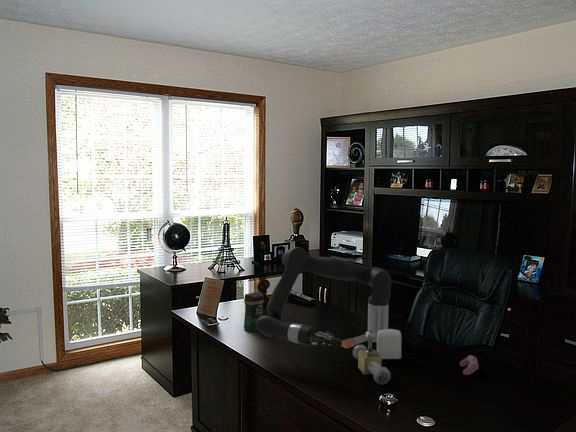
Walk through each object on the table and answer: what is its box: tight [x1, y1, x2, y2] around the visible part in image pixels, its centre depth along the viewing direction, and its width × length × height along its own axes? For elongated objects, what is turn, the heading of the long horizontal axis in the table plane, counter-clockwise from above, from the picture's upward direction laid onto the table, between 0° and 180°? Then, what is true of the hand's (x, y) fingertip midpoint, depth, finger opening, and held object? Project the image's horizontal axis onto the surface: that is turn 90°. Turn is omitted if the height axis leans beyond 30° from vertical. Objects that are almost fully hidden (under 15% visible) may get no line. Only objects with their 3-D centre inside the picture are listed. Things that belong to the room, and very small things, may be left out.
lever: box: [340, 330, 375, 349], centre depth 185 cm, size 17×4×2 cm, turn 130°
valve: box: [352, 340, 392, 386], centre depth 189 cm, size 24×7×13 cm, turn 12°
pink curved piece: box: [459, 354, 480, 376], centre depth 190 cm, size 10×5×7 cm, turn 169°
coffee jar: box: [243, 290, 264, 333], centre depth 237 cm, size 10×8×19 cm
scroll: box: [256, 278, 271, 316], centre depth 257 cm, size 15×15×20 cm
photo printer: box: [376, 328, 402, 360], centre depth 203 cm, size 10×4×12 cm, turn 90°
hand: (341, 343), depth 181 cm, fingers closed
